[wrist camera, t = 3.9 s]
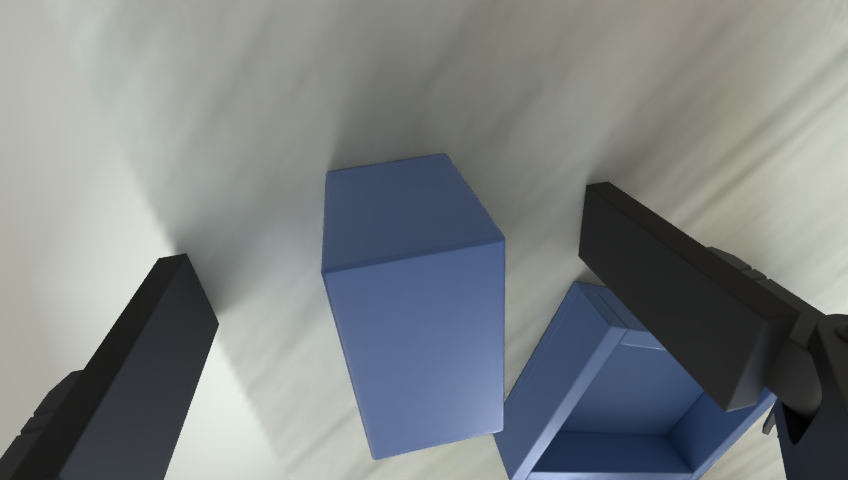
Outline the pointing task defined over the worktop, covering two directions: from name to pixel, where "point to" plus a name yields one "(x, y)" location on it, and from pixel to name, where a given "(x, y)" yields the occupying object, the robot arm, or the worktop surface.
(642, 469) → the tray blue
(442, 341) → the blue rectangular block
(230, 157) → the worktop surface
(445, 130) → the worktop surface
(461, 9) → the worktop surface
